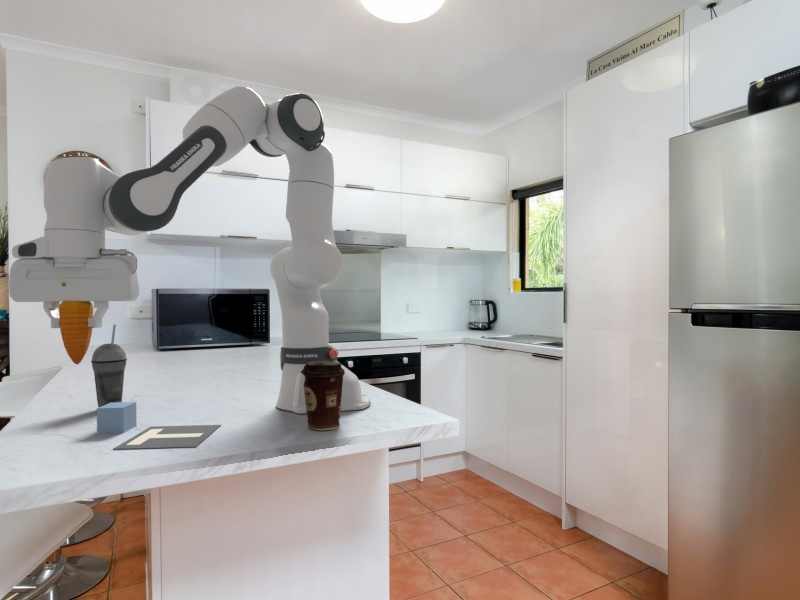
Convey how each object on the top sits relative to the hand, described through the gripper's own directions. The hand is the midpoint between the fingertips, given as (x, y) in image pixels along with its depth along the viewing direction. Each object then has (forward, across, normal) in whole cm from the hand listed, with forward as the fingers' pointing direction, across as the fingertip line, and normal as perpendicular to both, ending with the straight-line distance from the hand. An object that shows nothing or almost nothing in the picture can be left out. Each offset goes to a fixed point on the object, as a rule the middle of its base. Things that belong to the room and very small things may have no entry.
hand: (76, 327), depth 83 cm
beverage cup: (+21, +10, -29) cm, 37 cm away
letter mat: (+21, -14, -5) cm, 26 cm away
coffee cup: (+21, -42, -9) cm, 48 cm away
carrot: (+7, 0, 0) cm, 7 cm away
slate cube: (+21, -1, -11) cm, 24 cm away
